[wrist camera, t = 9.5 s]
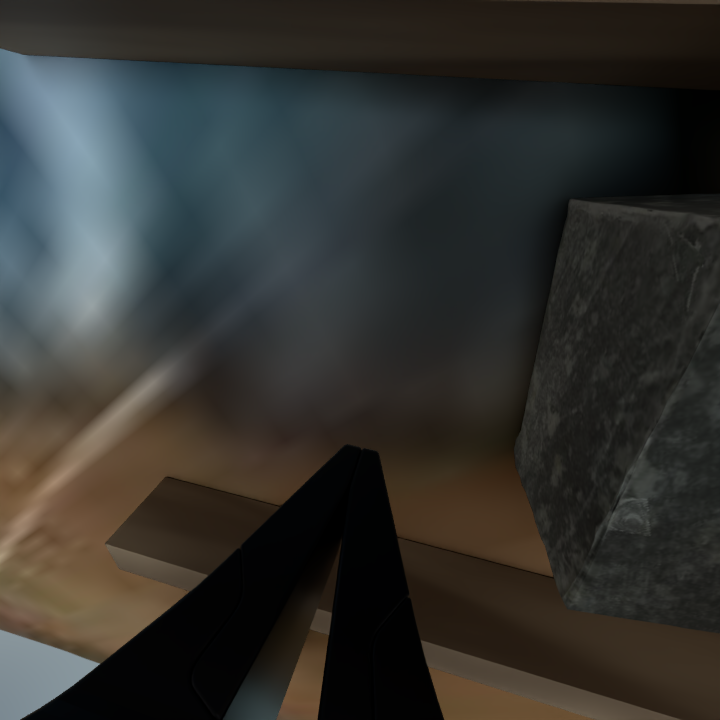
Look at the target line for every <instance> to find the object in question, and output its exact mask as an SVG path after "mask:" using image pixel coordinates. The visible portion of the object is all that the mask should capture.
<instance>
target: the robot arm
mask: <svg viewBox="0 0 720 720" xmlns="http://www.w3.org/2000/svg"><path fill="white" fill-rule="evenodd" d="M340 545H341V549H340V557H339V564H338V572H337V579H336V587H335V594H334V601H333V609H332V616H331V624H330V631H329V639H328V646H327V653H326V661H325V668H324V676H323V683H322V691H321V698H320V705H319V713H318V720H444V718H443V715H442V711H441V708H440V705H439V702H438V699H437V696H436V692H435V689H434V686H433V682H432V679H431V676H430V672H429V669H428V666H427V662H426V659H425V655H424V651H423V647H422V643H421V639H420V635H419V631H418V627H417V623H416V619H415V614H414V610H413V605H412V601H411V598H409V595H410V593H409V588H408V584H407V579H406V574H405V570H404V565H403V561H402V556H401V552H400V547H399V543H398V538H397V534H396V529H395V525H394V520H393V515H392V511H391V506H390V502H389V497H388V493H387V488H386V484H385V479H384V475H383V470H382V466H381V461H380V456H379V453H378V452H377V451H375V450H370V449H366V448H363V449H362V450H361V448H360V447H357V446H353V445H348V444H347V445H344V446H343V447H342V448H341V449H340V450H339V451H338V452H337V453H336V454H335V455H334V456H333V457H332V458H331V459H330V460H329V461H328V462H327V463H326V464H325V465H323V466H322V467H321V468H320V469H319V470H318V471H317V472H316V473H315V474H314V475H313V476H312V477H311V478H310V479H309V480H308V481H307V482H306V483H305V484H304V485H303V486H302V487H301V488H300V489H298V490H297V491H296V492H295V493H294V494H293V495H292V496H291V497H290V498H289V499H288V500H287V501H286V502H285V503H284V504H283V505H282V506H281V507H280V508H279V509H278V510H277V511H276V512H275V513H273V514H272V515H271V516H270V517H269V518H268V519H267V520H266V521H265V522H264V523H263V524H262V525H261V526H260V527H259V528H258V529H257V530H256V531H255V532H254V533H253V534H252V535H251V536H250V537H249V538H247V539H246V540H245V541H244V542H243V543H242V544H241V546H240V548H237V549H236V550H235V551H234V552H233V553H232V554H231V555H230V556H229V557H227V558H226V559H225V560H224V561H223V562H222V563H221V564H220V565H219V566H218V567H217V568H216V569H215V570H214V571H212V572H211V573H210V574H209V575H208V576H207V577H206V578H205V579H204V580H203V581H202V582H200V583H199V584H198V585H197V586H196V587H195V588H194V589H192V590H191V591H190V592H189V593H188V594H186V595H185V596H184V597H183V598H182V599H180V600H179V601H178V602H177V603H176V604H174V605H173V606H172V607H171V608H170V609H168V610H167V611H166V612H165V613H163V614H162V615H161V616H160V617H158V618H157V619H156V620H155V621H153V622H152V623H151V624H150V625H148V626H147V627H146V628H145V629H143V630H142V631H141V632H140V633H138V634H137V635H136V636H135V637H133V638H132V639H131V640H130V641H128V642H127V643H126V644H125V645H123V646H122V647H121V648H120V649H118V650H117V651H116V652H115V653H113V654H112V655H111V656H110V657H108V658H107V659H106V660H105V661H103V662H102V663H101V664H100V665H98V666H97V667H96V668H95V669H94V670H92V671H91V672H90V673H88V674H87V675H86V676H85V677H83V678H82V679H81V680H79V682H77V683H76V684H74V685H73V686H72V687H70V688H69V689H68V690H66V691H65V692H63V693H62V694H60V695H59V696H58V697H56V698H55V699H53V700H51V701H50V702H49V703H47V704H45V705H44V706H42V707H41V708H40V709H38V710H36V711H34V712H32V713H31V714H29V715H27V716H26V717H24V718H22V719H21V720H276V719H277V716H278V713H279V710H280V708H281V705H282V702H283V700H284V697H285V694H286V691H287V689H288V686H289V683H290V681H291V678H292V675H293V672H294V670H295V667H296V664H297V662H298V659H299V656H300V653H301V651H302V648H303V645H304V643H305V640H306V637H307V634H308V632H309V629H310V626H311V624H312V621H313V618H314V615H315V613H316V610H317V607H318V605H319V602H320V599H321V597H322V594H323V591H324V588H325V586H326V583H327V580H328V578H329V575H330V572H331V569H332V567H333V564H334V561H335V559H336V556H337V553H338V550H339V548H340Z"/></svg>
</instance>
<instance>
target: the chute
mask: <svg viewBox="0 0 720 720" xmlns="http://www.w3.org/2000/svg"><path fill="white" fill-rule="evenodd" d="M0 48H1V49H5V50H9V51H12V52H16V53H19V54H23V55H39V56H59V57H78V58H98V59H117V60H137V61H156V62H176V63H195V64H214V65H234V66H253V67H273V68H292V69H312V70H331V71H350V72H370V73H389V74H409V75H428V76H448V77H467V78H487V79H506V80H525V81H545V82H564V83H584V84H603V85H623V86H642V87H662V88H681V89H700V90H720V0H0ZM279 508H280V507H278V506H275V505H271V504H267V503H263V502H259V501H256V500H252V499H248V498H244V497H240V496H236V495H233V494H229V493H225V492H221V491H217V490H214V489H210V488H206V487H202V486H198V485H194V484H191V483H187V482H183V481H179V480H175V479H172V478H168V477H165V478H164V479H163V480H162V481H161V483H160V484H159V485H158V486H157V487H156V488H155V489H154V490H153V491H152V492H151V493H150V495H149V496H148V497H147V498H146V499H145V500H144V501H143V502H142V503H141V504H140V506H139V507H138V508H137V509H136V510H135V511H134V512H133V513H132V514H131V515H130V516H129V518H128V519H127V520H126V521H125V522H124V523H123V524H122V525H121V526H120V527H119V529H118V530H117V531H116V532H115V533H114V534H113V535H112V536H111V537H110V538H109V539H108V541H107V542H106V543H105V545H106V547H107V549H108V550H109V552H110V554H111V556H112V557H113V559H114V561H115V563H116V564H117V566H118V568H119V569H121V570H124V571H127V572H130V573H134V574H137V575H140V576H143V577H146V578H149V579H153V580H156V581H159V582H162V583H165V584H168V585H171V586H175V587H178V588H181V589H184V590H187V591H191V590H192V589H194V588H195V587H196V586H197V585H198V584H199V583H200V582H202V581H203V580H204V579H205V578H206V577H207V576H208V575H209V574H210V573H211V572H212V571H214V570H215V569H216V568H217V567H218V566H219V565H220V564H221V563H222V562H223V561H224V560H225V559H226V558H227V557H229V556H230V555H231V554H232V553H233V552H234V551H235V550H236V549H237V548H240V546H241V544H242V543H243V542H244V541H245V540H246V539H247V538H249V537H250V536H251V535H252V534H253V533H254V532H255V531H256V530H257V529H258V528H259V527H260V526H261V525H262V524H263V523H264V522H265V521H266V520H267V519H268V518H269V517H270V516H271V515H272V514H273V513H275V512H276V511H277V510H278V509H279ZM398 543H399V547H400V552H401V556H402V561H403V565H404V570H405V574H406V579H407V584H408V588H409V593H410V595H409V598H411V601H412V605H413V610H414V614H415V619H416V623H417V627H418V631H419V635H420V639H421V643H422V647H423V651H424V655H425V659H426V662H427V666H428V667H431V668H434V669H437V670H440V671H443V672H447V673H450V674H453V675H456V676H459V677H462V678H466V679H469V680H472V681H475V682H478V683H481V684H485V685H488V686H491V687H494V688H497V689H500V690H503V691H507V692H510V693H513V694H516V695H519V696H522V697H526V698H529V699H532V700H535V701H538V702H541V703H545V704H548V705H551V706H554V707H557V708H560V709H564V710H567V711H570V712H573V713H576V714H579V715H583V716H586V717H589V718H592V719H595V720H720V633H713V632H706V631H700V630H693V629H686V628H681V627H676V626H671V625H664V624H658V623H651V622H644V621H638V620H631V619H625V618H618V617H612V616H606V615H600V614H593V613H587V612H581V611H575V610H568V609H567V608H566V606H565V604H564V602H563V600H562V598H561V596H560V593H559V591H558V589H557V586H556V582H555V579H553V578H549V577H546V576H542V575H538V574H534V573H530V572H526V571H523V570H519V569H515V568H511V567H507V566H504V565H500V564H496V563H492V562H488V561H484V560H481V559H477V558H473V557H469V556H465V555H462V554H458V553H454V552H450V551H446V550H442V549H439V548H435V547H431V546H427V545H423V544H420V543H416V542H412V541H408V540H404V539H401V538H398ZM340 549H341V545H340V548H339V550H338V553H337V556H336V559H335V561H334V564H333V567H332V569H331V572H330V575H329V578H328V580H327V583H326V586H325V588H324V591H323V594H322V597H321V599H320V602H319V605H318V607H317V610H316V613H315V615H314V618H313V621H312V624H311V626H310V629H311V630H314V631H317V632H320V633H323V634H326V635H329V631H330V624H331V616H332V609H333V601H334V594H335V587H336V579H337V572H338V564H339V557H340Z"/></svg>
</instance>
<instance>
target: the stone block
mask: <svg viewBox="0 0 720 720" xmlns="http://www.w3.org/2000/svg"><path fill="white" fill-rule="evenodd" d="M514 454H515V466H516V469H517V471H518V473H519V475H520V479H521V483H522V486H523V488H524V489H525V491H526V494H527V497H528V500H529V503H530V505H531V508H532V511H533V514H534V518H535V522H536V525H537V528H538V531H539V534H540V537H541V539H542V541H543V543H544V545H545V547H546V551H547V555H548V558H549V562H550V565H551V569H552V573H553V576H554V579H555V582H556V586H557V589H558V591H559V593H560V596H561V598H562V600H563V602H564V604H565V606H566V608H567V609H568V610H575V611H581V612H587V613H593V614H600V615H606V616H612V617H618V618H625V619H631V620H638V621H644V622H651V623H658V624H664V625H671V626H676V627H681V628H686V629H693V630H700V631H706V632H713V633H720V194H681V195H655V196H621V197H591V198H572V199H570V200H569V204H568V216H567V219H566V222H565V224H564V229H563V234H562V239H561V242H560V246H559V250H558V254H557V259H556V265H555V270H554V275H553V280H552V284H551V288H550V293H549V297H548V302H547V307H546V311H545V316H544V320H543V325H542V330H541V335H540V340H539V345H538V349H537V354H536V359H535V364H534V369H533V373H532V377H531V382H530V386H529V391H528V398H527V403H526V408H525V414H524V418H523V422H522V427H521V432H520V433H519V436H518V437H517V438H516V441H515V447H514Z"/></svg>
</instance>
